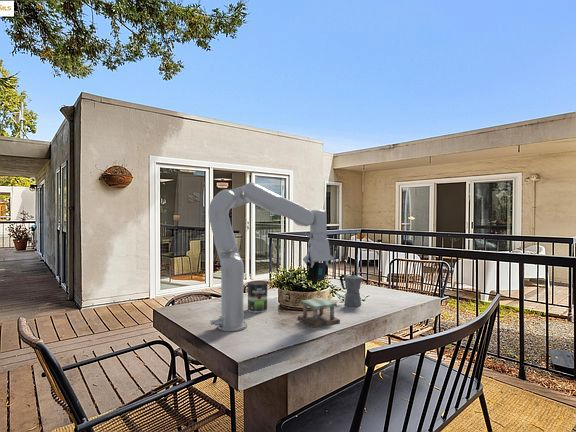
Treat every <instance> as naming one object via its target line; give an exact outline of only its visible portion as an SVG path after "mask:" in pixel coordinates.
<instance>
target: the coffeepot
mask: <svg viewBox="0 0 576 432" xmlns="http://www.w3.org/2000/svg"><path fill="white" fill-rule="evenodd" d="M339 281H340V285H341V289H343V290H346V292H345V297H344V303H343V304H344V305H345V306H346V307H352V306H353V307H357V308H358V307H360V306H362V300H361V295H360V294H361V293H360V289H361V283H362V282H363V281H364V278H362V276H358V275H355V271H351V274H350V275H348V274H340V276H339ZM353 307H352V308H353Z"/></svg>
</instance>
